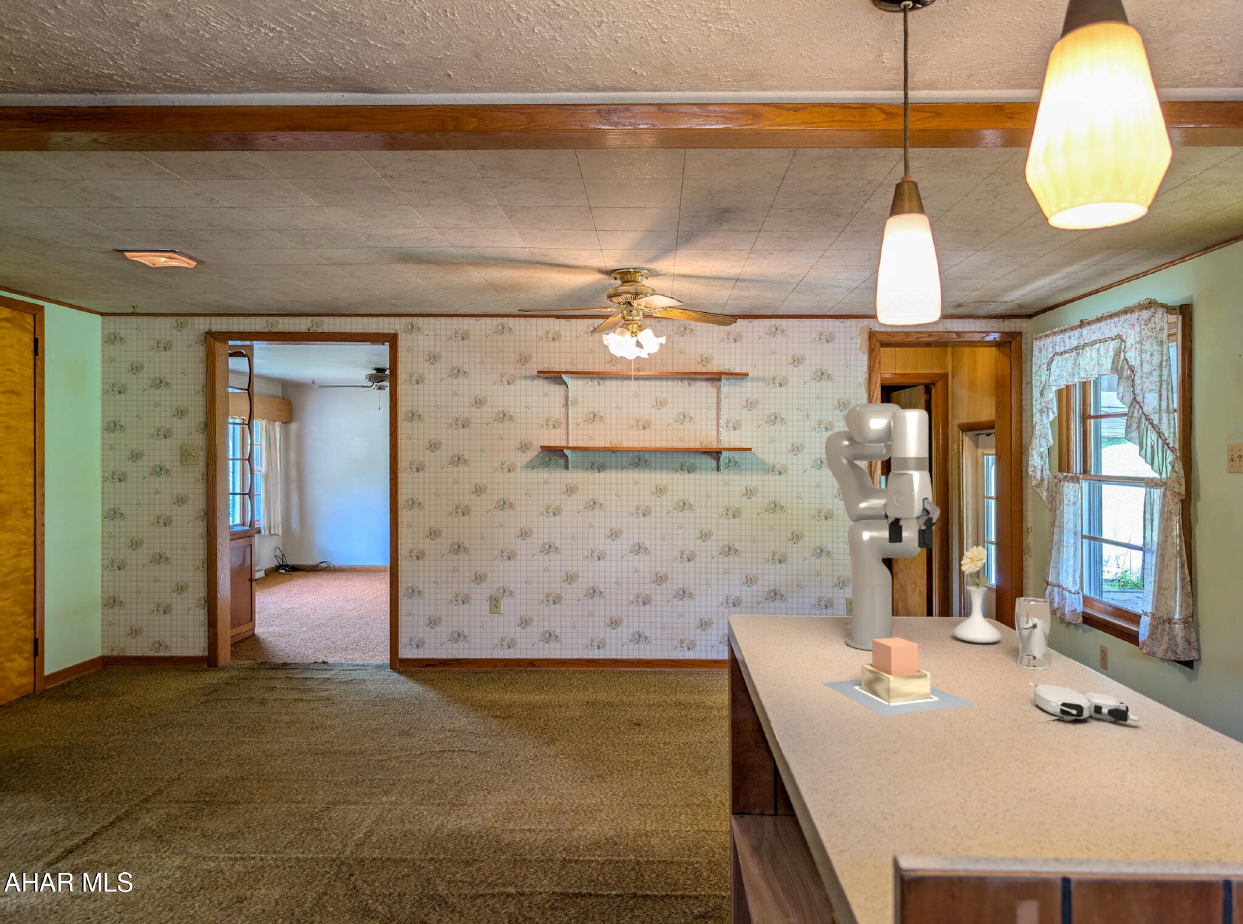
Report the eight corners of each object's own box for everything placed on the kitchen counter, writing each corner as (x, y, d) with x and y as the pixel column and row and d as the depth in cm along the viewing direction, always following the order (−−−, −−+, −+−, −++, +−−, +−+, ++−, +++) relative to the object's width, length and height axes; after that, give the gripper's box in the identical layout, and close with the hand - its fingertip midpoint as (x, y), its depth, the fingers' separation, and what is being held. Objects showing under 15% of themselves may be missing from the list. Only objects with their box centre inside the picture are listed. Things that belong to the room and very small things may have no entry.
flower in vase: (947, 634, 193) (947, 541, 193) (994, 636, 191) (993, 542, 191) (960, 646, 181) (959, 547, 181) (1010, 649, 178) (1009, 547, 178)
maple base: (861, 688, 144) (861, 664, 144) (899, 684, 147) (899, 660, 147) (890, 702, 136) (890, 677, 136) (930, 698, 138) (930, 673, 138)
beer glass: (1041, 662, 166) (1041, 597, 166) (1056, 671, 160) (1056, 603, 160) (1010, 661, 167) (1009, 596, 167) (1023, 670, 160) (1023, 602, 160)
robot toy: (1112, 713, 135) (1024, 701, 139) (1114, 689, 135) (1026, 678, 139) (1143, 737, 123) (1046, 724, 127) (1145, 711, 123) (1048, 698, 127)
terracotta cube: (872, 669, 144) (872, 639, 144) (898, 667, 145) (898, 637, 145) (891, 678, 138) (891, 646, 138) (918, 675, 139) (918, 644, 139)
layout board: (822, 687, 148) (822, 682, 148) (905, 679, 154) (905, 674, 154) (883, 721, 129) (883, 714, 129) (975, 709, 135) (975, 704, 135)
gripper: (870, 466, 164) (870, 541, 164) (922, 466, 147) (922, 550, 147) (898, 466, 166) (898, 540, 166) (952, 466, 149) (953, 549, 149)
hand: (910, 545), depth 157 cm, fingers open, 9 cm apart
